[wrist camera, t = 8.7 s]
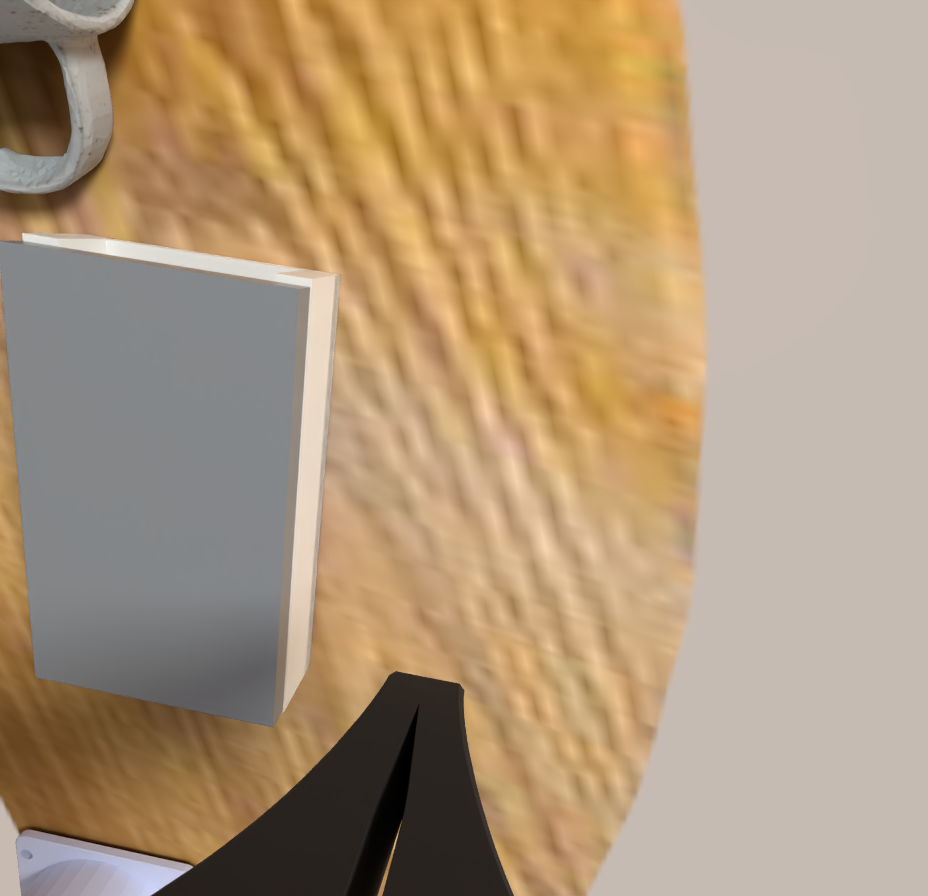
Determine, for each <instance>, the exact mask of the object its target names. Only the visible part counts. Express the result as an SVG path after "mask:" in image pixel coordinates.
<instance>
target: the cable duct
mask: <svg viewBox="0 0 928 896" xmlns="http://www.w3.org/2000/svg"><path fill="white" fill-rule="evenodd" d="M23 241H26V242H33V243H39V244H45V245H51V246H57V247H64V248H70V249H76V250H82V251H89V252H95V253H101V254H107V255H113V256H120V257H126V258H132V259H138V260H144V261H151V262H157V263H163V264H169V265H176V266H182V267H188V268H194V269H200V270H207V271H213V272H219V273H225V274H231V275H238V276H244V277H250V278H256V279H263V280H269V281H275V282H281V283H287V284H294V285H300V286H306V287H310V298H309V314H308V329H307V344H306V360H305V375H304V391H303V406H302V422H301V437H300V453H299V468H298V484H297V499H296V514H295V530H294V545H293V561H292V576H291V592H290V607H289V623H288V638H287V653H286V669H285V684H284V700H283V711H282V712H283V713H284V711H285V709H286V708H287V706H288V704H289V702H290V700H291V698H292V697H293V695H294V693H295V691H296V689H297V687H298V685H299V684H300V682H301V680H302V678H303V676H304V674H305V673H306V671H307V669H308V667H309V665H310V653H311V640H312V628H313V615H314V602H315V590H316V577H317V564H318V552H319V539H320V526H321V514H322V501H323V489H324V476H325V463H326V451H327V438H328V425H329V413H330V400H331V387H332V375H333V362H334V349H335V337H336V324H337V311H338V299H339V286H340V274H334V273H328V272H321V271H315V270H309V269H302V268H296V267H290V266H283V265H277V264H271V263H264V262H258V261H252V260H245V259H239V258H233V257H226V256H220V255H214V254H207V253H201V252H195V251H189V250H182V249H176V248H170V247H163V246H157V245H151V244H144V243H138V242H132V241H125V240H119V239H113V238H106V237H100V236H94V235H87V234H50V233H23Z"/></svg>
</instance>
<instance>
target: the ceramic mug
mask: <svg viewBox="0 0 928 896" xmlns="http://www.w3.org/2000/svg"><path fill="white" fill-rule="evenodd" d="M133 4H134V0H0V43H13V42H32V41H39V40H43V41H45V42H48V44H49V45H50V46H51V48H52V49H53V51H54V53H55V55H56V56H57V58H58V60H59V62H60V66H61V70H62V74H63V78H64V86H65V90H66V94H67V98H68V104H69V110H70V119H71V127H72V133H71V138H70V142H69V145H68V149H67V153H65V154H64V156H32V155H25V154H19V153H16V152H14V151H12V150H10V149H8V148H6V147H5V148H0V190H1V191H5V192H9V193H21V194H46V193H50V192H54V191H58V190H62V189H65V188H66V187H68V186H69V185H71V184H72V183H74V182H75V181H77V180H78V179H79V178H81V177H82V176H84V175H85V174H87V173H88V172H89V171H91V170H92V169H93V168H94V167H96V166H97V165H98V163H99V162H100V161H101V160H102V158H103V155H104V153H105V151H106V149H107V146H108V144H109V142H110V140H111V134H112V129H113V105H112V99H111V94H110V88H109V83H108V78H107V72H106V67H105V63H104V60H103V56H102V53H101V50H100V47H99V43H98V37H97V35H99V34H102V33H105V32H107V31H109V30H111V29H113V28H115V27H116V26H117V25H119V24H120V23H121V22H122V21H123V20H124V18H125V17H126V16H127V14H128V13H129V11H130V10H131V8H132V6H133Z"/></svg>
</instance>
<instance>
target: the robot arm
mask: <svg viewBox="0 0 928 896" xmlns="http://www.w3.org/2000/svg"><path fill="white" fill-rule="evenodd" d="M463 698H464V689H463V688H462V687H461V685H460V684H458V683H453V682H448V681H442V680H437V679H432V678H427V677H422V676H417V675H412V674H407V673H402V672H397V671H396V672H394V673H392V674H391V675H389V677H388V678H387V680H386V682H385V683H384V685H383V686H382V688H381V689H380V691H379V692H378V693H377V695H376V696H375V698H374V699H373V700H372V702H371V703H370V704H369V706H368V707H367V708H366V709H365V711H364V712H363V713H362V714H361V716H360V717H359V718H358V719H357V721H356V722H355V723H354V724H353V725H352V726H351V727H350V729H349V730H348V731H347V732H346V733H345V734H344V736H343V737H342V738H341V739H340V740H339V741H338V743H337V744H336V745H335V746H334V747H333V748H332V749H331V750H330V751H329V752H328V753H327V754H326V755H325V756H324V757H323V758H322V759H321V760H320V761H319V762H318V764H317V765H316V766H315V767H314V768H313V769H312V770H311V771H310V772H309V773H308V774H307V775H306V776H305V777H304V778H303V779H302V780H301V781H300V782H299V783H298V784H296V785H295V786H294V787H293V788H292V789H291V790H290V791H289V792H288V793H287V794H286V795H285V796H284V797H282V798H281V799H280V800H279V801H278V802H277V803H276V804H274V805H273V806H272V807H271V808H270V809H269V810H268V811H266V812H265V813H264V814H263V815H262V816H261V817H259V818H258V819H257V820H256V821H254V822H253V823H252V824H251V825H249V826H248V827H247V828H246V829H244V830H243V831H242V832H240V833H239V834H238V835H237V836H235V837H234V838H233V839H232V840H230V841H229V842H228V843H226V844H225V845H224V846H222V847H221V848H220V849H218V850H217V851H216V852H214V853H213V854H212V855H210V856H209V857H207V858H206V859H205V860H203V861H202V862H200V863H199V864H197V865H196V866H194V867H193V866H191V865H189V864H185V863H180V862H176V861H171V860H167V859H162V858H157V857H153V856H148V855H144V854H139V853H135V852H130V851H126V850H121V849H117V848H112V847H108V846H103V845H98V844H94V843H89V842H85V841H80V840H76V839H71V838H67V837H62V836H58V835H53V834H48V833H44V832H39V831H35V830H25V831H23V832H22V833H21V834H20V836H19V837H18V838H17V839H16V849H17V859H18V868H19V877H20V886H21V895H22V896H377V895H378V892H379V889H380V886H381V883H382V880H383V876H384V873H385V870H386V867H387V864H388V861H389V858H390V855H391V852H392V849H393V846H394V842H395V839H396V836H397V833H398V830H399V827H400V824H401V827H400V831H399V835H398V839H397V842H396V846H395V850H394V854H393V858H392V862H391V865H390V869H389V873H388V877H387V880H386V884H385V888H384V892H383V895H382V896H514V895H513V893H512V890H511V888H510V885H509V883H508V880H507V878H506V875H505V873H504V870H503V867H502V865H501V862H500V859H499V857H498V854H497V851H496V848H495V846H494V843H493V840H492V837H491V834H490V830H489V827H488V824H487V821H486V817H485V814H484V811H483V807H482V804H481V800H480V797H479V793H478V789H477V785H476V781H475V776H474V772H473V767H472V763H471V758H470V753H469V748H468V742H467V735H466V728H465V720H464V699H463ZM401 821H402V823H401Z"/></svg>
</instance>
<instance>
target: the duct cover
mask: <svg viewBox="0 0 928 896" xmlns="http://www.w3.org/2000/svg"><path fill="white" fill-rule="evenodd" d="M0 274H1V286H2V298H3V309H4V321H5V332H6V344H7V355H8V367H9V378H10V390H11V402H12V413H13V425H14V436H15V448H16V459H17V471H18V482H19V494H20V506H21V517H22V529H23V540H24V552H25V563H26V575H27V586H28V598H29V609H30V621H31V633H32V644H33V656H34V667H35V678H40V679H45V680H50V681H54V682H59V683H64V684H69V685H73V686H78V687H83V688H88V689H92V690H97V691H102V692H107V693H112V694H116V695H121V696H126V697H131V698H135V699H140V700H145V701H150V702H154V703H159V704H164V705H169V706H173V707H178V708H183V709H188V710H192V711H197V712H202V713H207V714H211V715H216V716H221V717H226V718H230V719H235V720H240V721H245V722H249V723H254V724H259V725H264V726H269V727H274V725H275V723H276V721H277V719H278V718H279V716H280V714H281V712H282V711H283V700H284V684H285V669H286V653H287V638H288V623H289V607H290V592H291V576H292V561H293V545H294V530H295V514H296V499H297V484H298V468H299V453H300V437H301V422H302V406H303V391H304V375H305V360H306V344H307V329H308V314H309V298H310V287H306V286H300V285H294V284H287V283H281V282H275V281H269V280H263V279H256V278H250V277H244V276H238V275H231V274H225V273H219V272H213V271H207V270H200V269H194V268H188V267H182V266H176V265H169V264H163V263H157V262H151V261H144V260H138V259H132V258H126V257H120V256H113V255H107V254H101V253H95V252H89V251H82V250H76V249H70V248H64V247H57V246H51V245H45V244H39V243H33V242H26V241H0Z"/></svg>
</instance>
